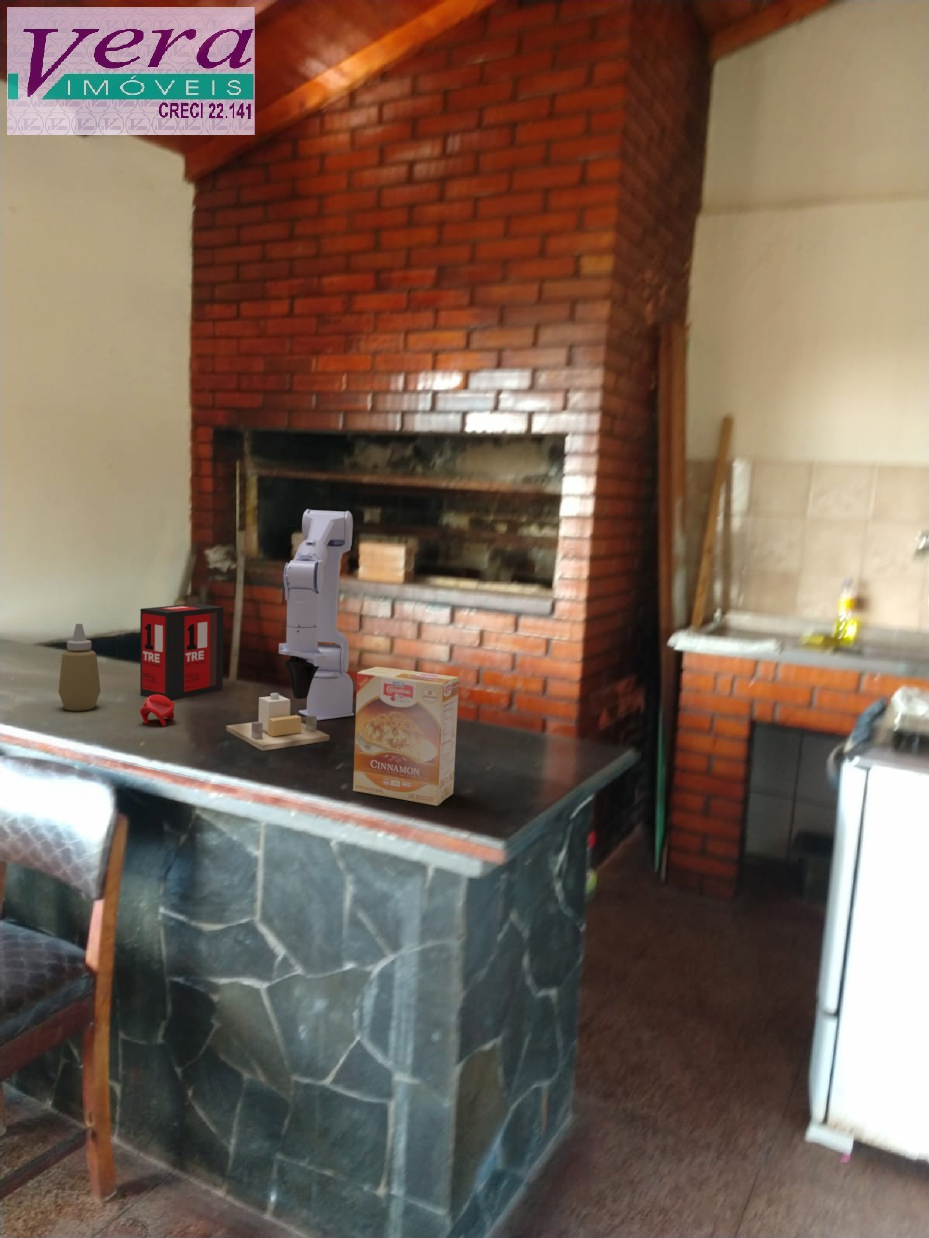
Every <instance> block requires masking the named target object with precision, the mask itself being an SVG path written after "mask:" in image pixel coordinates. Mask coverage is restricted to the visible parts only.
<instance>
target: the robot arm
mask: <svg viewBox="0 0 929 1238" xmlns="http://www.w3.org/2000/svg"><path fill="white" fill-rule="evenodd" d="M353 526H354V521H353V514H352V513H351V512H350V511H349V510H346V511H339V510H338V511H335V510H318V509H317V510H315V509H310V508H307V509H306V510H305V511H304V512H303V515H302V522H301V531H302V536H303V537H304V540H303V541H302V542H301V543H300V544H299V546H298V548H297V550H296V552H295V555H294V557H293V559H291V560H290V561H289V563H288V562H286V563H285V566H284V568H283V569H284V570H283V584H284V585H283V586H284V599H285V601H286V603H287V604H286V633H285V634H286V641H285V642H282V643H281V642H280V643H279V644H278V654H279V655H284V656H290V657H289V659H283V660H282V665H283V666H284V668H285V670H286V672H287V675H288V678H289V681H290V685H291V690H292V694H293V699H297V700H300V699H301V700H302V699H306V709H301V710H298V713H299V714H301V715H304V716H305V717H306V715H312V714H313V715H316V716H317V721H322V720H323V721H324V720H330V719H336V718H337V719H338V718H339V719H340V718H344V717H352V716H353V717H354V716H355V712H353V704H354V703H353V702H354V701H353V699H354V684H353V681H352V680H353V679H352V678H351V676H350V675H349V674H348V673H347V672H348V670H349V667H350V666H349V665H350V643H349V642H350V641H349V639H348V638H347V636H346V635H345V634H343V633H342V632H341V631H340V630H338V615H339V614H338V609H339V596H340V595H339V594H340V593H339V592H340V591H339V590H340V573H341V562H342V561H341V560H342V559H343V554H344V553H347V552H349V551H351V547H352V545H353V543H352V542H353V528H354V527H353ZM323 643H325V644H323ZM327 643H335V644H327Z"/></svg>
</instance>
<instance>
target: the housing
mask: <svg viewBox="0 0 929 1238" xmlns="http://www.w3.org/2000/svg"><path fill="white" fill-rule="evenodd" d="M285 716H291V699H289V698H287V697H284V696H283V695H280V693H278V692H272V693H270V696H261V697H258V721H260V722H262V723H263V730H264V731H266V732H268V719H270V718H278V717H285Z"/></svg>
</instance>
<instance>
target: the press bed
mask: <svg viewBox="0 0 929 1238" xmlns="http://www.w3.org/2000/svg"><path fill="white" fill-rule="evenodd" d="M317 722H318V720H317V716H316V715H313V714H312V715H306V716H305V723H303V722H301V732H300V733H293V734H286V735H279V736H271V735H269V734H268V732H266V731H264V730H263V723H262V722H260V721H259V720H257V721H251V722H246V723H244V722H243V723H237V724H231V725H226V727H225V728H226V729H225V730H226V732H228V733H229V734H231V735H233V736H235V737H237V738H239V739H240V740H242V741H244V742H246V743H248V744H249V745H251V746H253V747H255V748H256V749H258V750H260V751H264V752H265V751H270V750H277V749H283V748H289V747H298V746H302V745H303V746H304V745H308V744H316V743H321V742H330V735H329V734H326V733H325V732H323V731H320V730H318V729H317Z"/></svg>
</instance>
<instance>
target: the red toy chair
mask: <svg viewBox="0 0 929 1238" xmlns="http://www.w3.org/2000/svg"><path fill="white" fill-rule="evenodd" d="M174 711H175V701H171V700H170V699H168V698H167V697H165V696H163V695H151V696H149V697H146V700H144V703H143V705H142V707H141V708H140V710H139V713H140V716H141V718H142V720H143V722H144V723H145V724H148V723H149V722H150V721H149V715H150V714H151V713H152V714H153V715H154V716H156V717H157V719H158V721H159V722H160V724H161V725H162V726H163V727H165V726H166V725H167V722H166V721H165V718H166V719H168V720H173V719H174V718H175V713H174Z"/></svg>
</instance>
